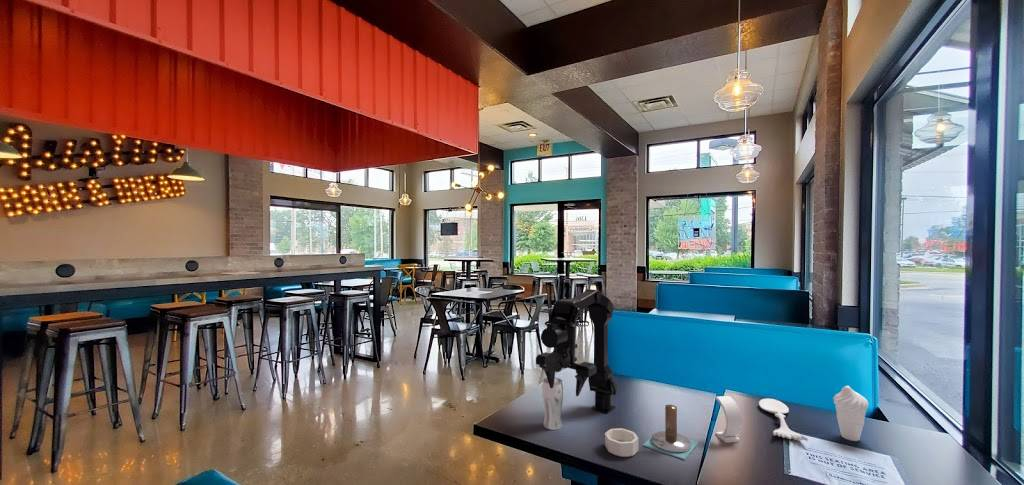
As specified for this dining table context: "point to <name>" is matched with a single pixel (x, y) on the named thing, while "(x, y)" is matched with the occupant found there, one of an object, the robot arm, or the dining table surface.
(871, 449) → the dining table surface
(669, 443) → the lid with wooden handle
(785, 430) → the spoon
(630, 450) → the cream ceramic bowl
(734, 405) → the headphone stand
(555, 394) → the beer glass
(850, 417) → the soft serve ice cream cone
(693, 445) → the teal rubber mat
